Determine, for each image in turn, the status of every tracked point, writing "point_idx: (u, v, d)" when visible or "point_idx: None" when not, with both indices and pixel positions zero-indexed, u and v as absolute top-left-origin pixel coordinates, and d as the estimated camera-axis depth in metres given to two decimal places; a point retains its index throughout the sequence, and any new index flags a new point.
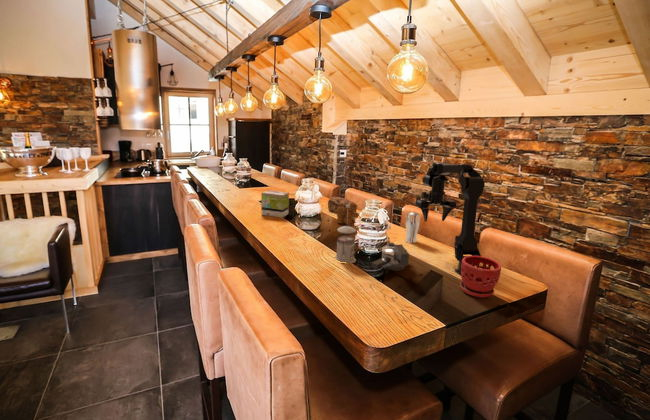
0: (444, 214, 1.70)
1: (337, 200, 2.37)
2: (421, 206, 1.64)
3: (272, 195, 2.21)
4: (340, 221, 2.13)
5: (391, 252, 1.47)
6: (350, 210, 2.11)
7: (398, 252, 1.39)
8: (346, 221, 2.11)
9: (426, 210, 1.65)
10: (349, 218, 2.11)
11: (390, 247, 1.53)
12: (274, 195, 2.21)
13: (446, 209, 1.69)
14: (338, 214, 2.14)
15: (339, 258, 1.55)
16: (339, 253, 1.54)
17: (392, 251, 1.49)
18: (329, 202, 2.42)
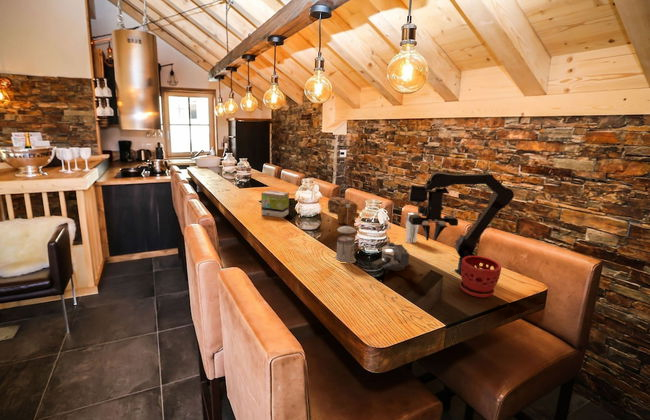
0: (436, 232, 1.45)
1: (338, 200, 2.37)
2: (413, 222, 1.42)
3: (272, 195, 2.21)
4: (340, 221, 2.13)
5: (391, 252, 1.47)
6: (350, 210, 2.11)
7: (398, 252, 1.39)
8: (346, 221, 2.11)
9: (427, 227, 1.42)
10: (349, 218, 2.11)
11: (390, 247, 1.53)
12: (274, 195, 2.21)
13: (438, 227, 1.44)
14: (338, 214, 2.14)
15: (339, 258, 1.55)
16: (339, 253, 1.54)
17: (392, 251, 1.49)
18: (329, 202, 2.42)
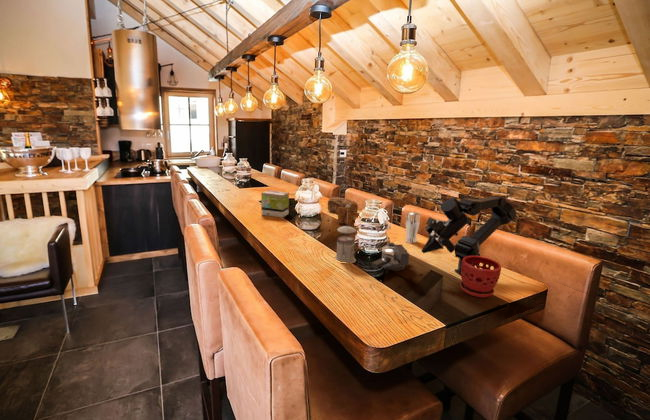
0: None
1: (338, 200, 2.36)
2: (452, 251, 1.30)
3: (272, 195, 2.21)
4: (341, 221, 2.13)
5: (391, 252, 1.47)
6: (351, 210, 2.11)
7: (398, 252, 1.39)
8: (347, 221, 2.11)
9: None
10: (350, 218, 2.10)
11: (390, 247, 1.53)
12: (274, 195, 2.21)
13: None
14: (339, 214, 2.14)
15: (339, 258, 1.55)
16: (339, 253, 1.54)
17: (392, 251, 1.49)
18: (329, 202, 2.41)
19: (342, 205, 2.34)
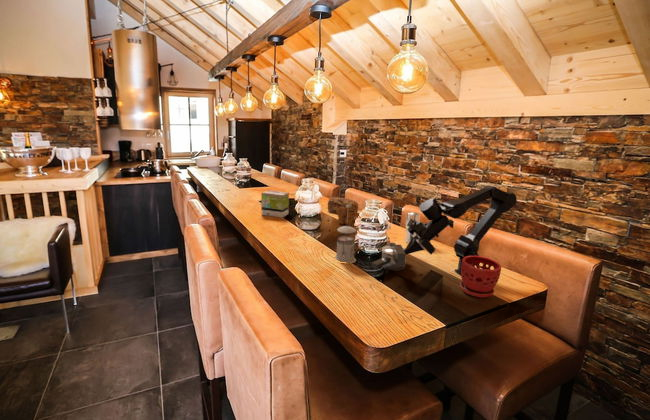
0: None
1: (339, 200, 2.36)
2: None
3: (272, 195, 2.21)
4: (341, 221, 2.12)
5: (390, 252, 1.48)
6: (351, 210, 2.11)
7: (395, 252, 1.39)
8: (347, 221, 2.10)
9: None
10: (350, 218, 2.10)
11: (391, 247, 1.54)
12: (274, 195, 2.21)
13: None
14: (339, 214, 2.13)
15: (339, 258, 1.55)
16: (339, 253, 1.54)
17: (392, 251, 1.49)
18: (329, 203, 2.40)
19: (344, 205, 2.34)
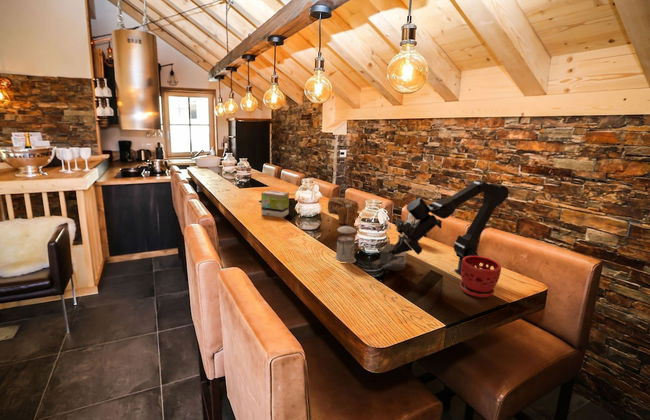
0: None
1: (340, 200, 2.36)
2: (419, 253, 1.30)
3: (272, 195, 2.21)
4: (341, 221, 2.12)
5: None
6: (351, 210, 2.11)
7: None
8: (347, 221, 2.10)
9: None
10: (350, 218, 2.10)
11: None
12: (274, 195, 2.21)
13: None
14: (339, 214, 2.13)
15: (339, 258, 1.55)
16: (339, 253, 1.54)
17: None
18: (330, 203, 2.39)
19: (344, 205, 2.34)
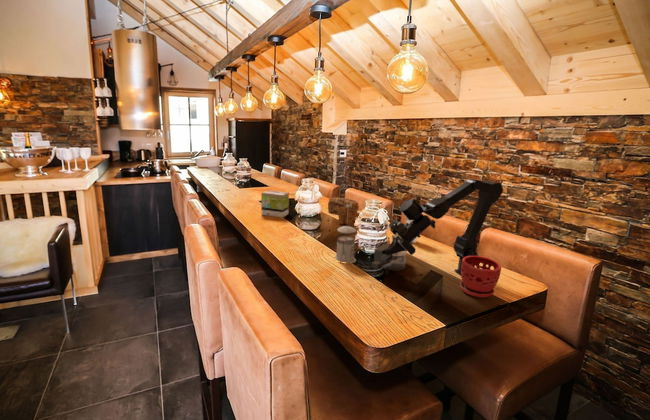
0: None
1: (340, 200, 2.36)
2: (412, 253, 1.30)
3: (272, 195, 2.21)
4: (341, 221, 2.12)
5: None
6: (351, 210, 2.11)
7: None
8: (347, 221, 2.10)
9: None
10: (350, 218, 2.10)
11: None
12: (274, 195, 2.21)
13: None
14: (339, 214, 2.13)
15: (339, 258, 1.55)
16: (339, 253, 1.54)
17: None
18: (330, 203, 2.39)
19: (345, 205, 2.34)
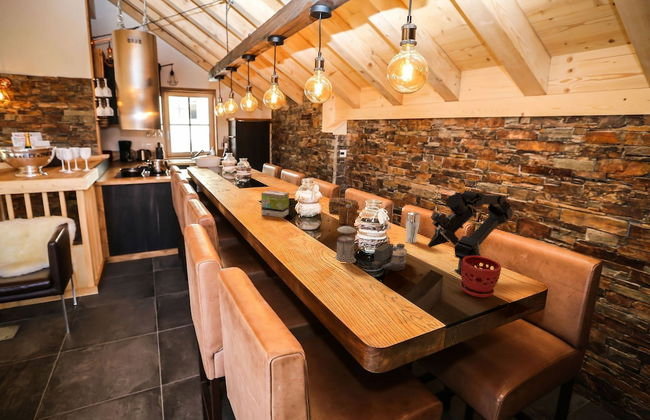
0: None
1: (342, 200, 2.36)
2: (455, 243, 1.30)
3: (272, 195, 2.21)
4: (342, 222, 2.12)
5: None
6: (352, 211, 2.10)
7: None
8: (348, 222, 2.10)
9: None
10: (351, 219, 2.10)
11: None
12: (274, 195, 2.21)
13: None
14: (340, 215, 2.13)
15: (339, 258, 1.55)
16: (339, 253, 1.54)
17: None
18: (331, 204, 2.37)
19: None
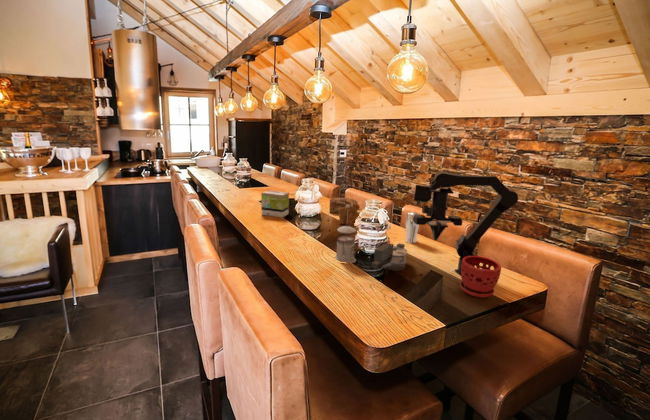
0: (437, 232, 1.46)
1: (343, 200, 2.36)
2: (417, 222, 1.42)
3: (272, 195, 2.21)
4: (342, 222, 2.12)
5: None
6: (352, 211, 2.10)
7: None
8: (348, 222, 2.10)
9: (434, 227, 1.43)
10: (351, 219, 2.10)
11: None
12: (274, 195, 2.21)
13: (439, 227, 1.45)
14: (340, 215, 2.13)
15: (339, 258, 1.55)
16: (339, 253, 1.54)
17: None
18: (332, 204, 2.37)
19: None
